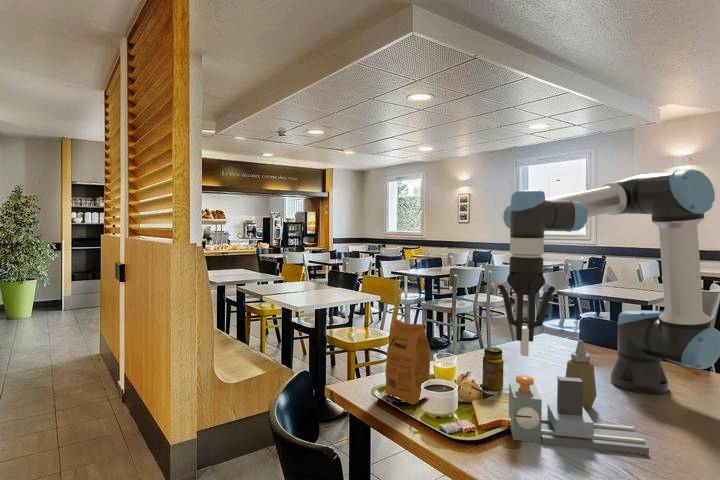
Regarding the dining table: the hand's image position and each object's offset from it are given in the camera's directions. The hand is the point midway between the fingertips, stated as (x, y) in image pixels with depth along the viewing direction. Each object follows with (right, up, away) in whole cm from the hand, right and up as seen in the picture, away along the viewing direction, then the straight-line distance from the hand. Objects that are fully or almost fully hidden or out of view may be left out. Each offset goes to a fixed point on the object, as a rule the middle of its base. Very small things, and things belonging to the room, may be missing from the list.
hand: (524, 354), depth 105 cm
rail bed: (+14, -19, -2) cm, 24 cm away
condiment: (0, -18, +28) cm, 34 cm away
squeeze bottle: (+21, -18, +16) cm, 32 cm away
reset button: (0, -9, 0) cm, 9 cm away
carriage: (+10, -17, -1) cm, 20 cm away
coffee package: (-26, -18, +22) cm, 38 cm away
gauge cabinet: (0, -19, +1) cm, 19 cm away
